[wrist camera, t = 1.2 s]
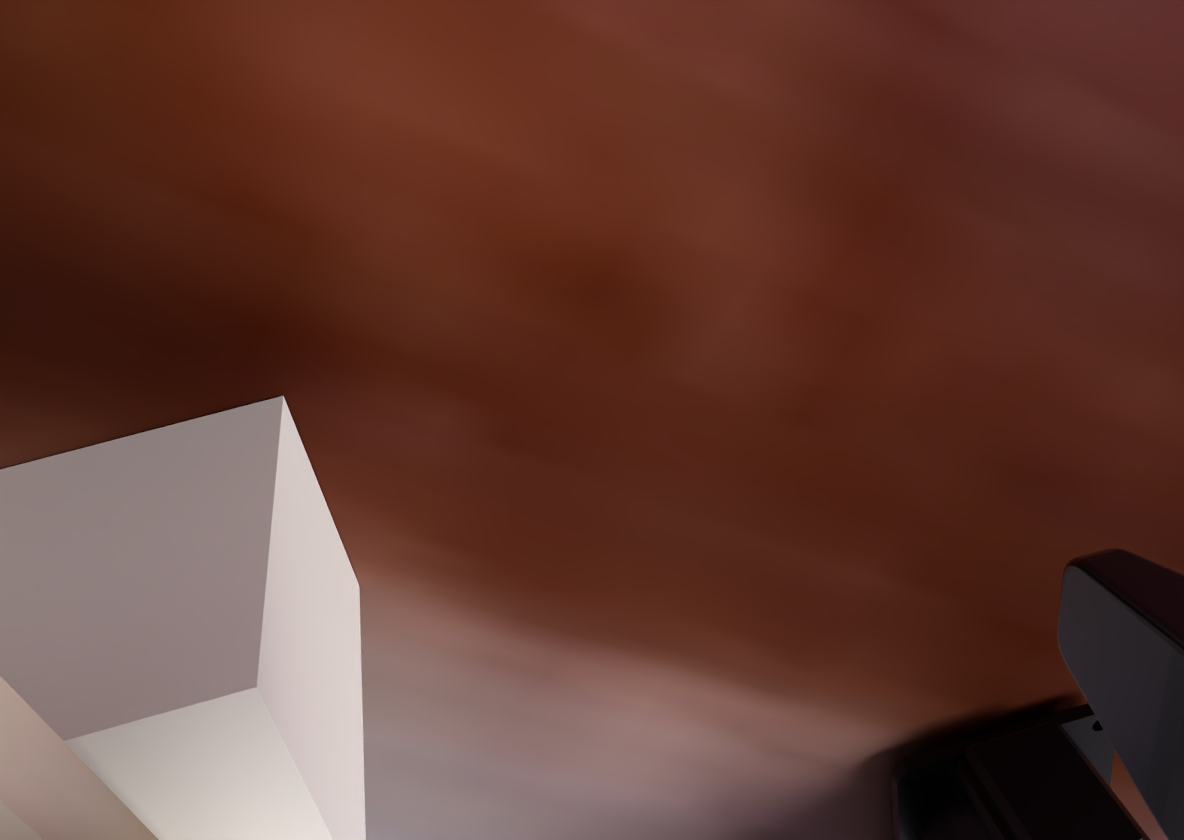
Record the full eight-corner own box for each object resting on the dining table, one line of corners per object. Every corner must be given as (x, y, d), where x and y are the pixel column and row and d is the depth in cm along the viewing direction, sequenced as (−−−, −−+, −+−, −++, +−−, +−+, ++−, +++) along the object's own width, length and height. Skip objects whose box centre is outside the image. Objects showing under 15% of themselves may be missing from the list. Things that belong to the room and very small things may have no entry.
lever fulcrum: (359, 586, 24) (367, 907, 17) (-101, 712, 23) (-285, 1101, 16) (283, 395, 21) (256, 687, 14) (-240, 532, 20) (-531, 908, 13)
